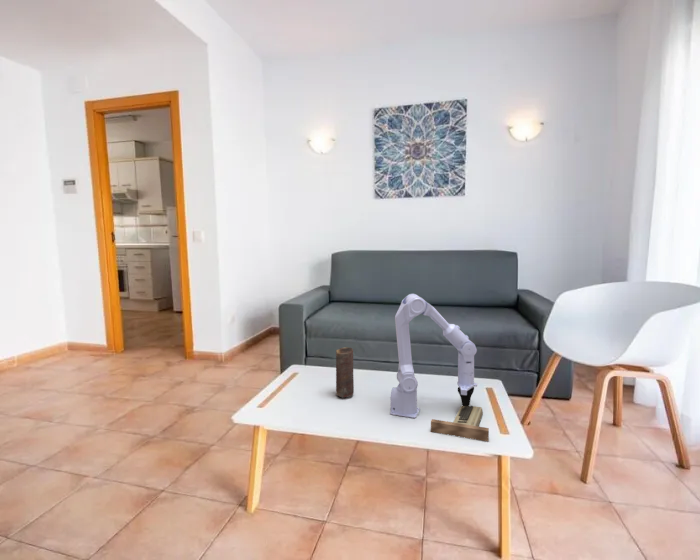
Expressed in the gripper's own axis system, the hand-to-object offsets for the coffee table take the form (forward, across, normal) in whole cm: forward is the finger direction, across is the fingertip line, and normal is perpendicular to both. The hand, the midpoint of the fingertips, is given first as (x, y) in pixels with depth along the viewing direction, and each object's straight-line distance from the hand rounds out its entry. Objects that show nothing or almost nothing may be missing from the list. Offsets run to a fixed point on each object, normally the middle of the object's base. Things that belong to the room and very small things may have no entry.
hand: (465, 406), depth 140 cm
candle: (+2, -3, +48) cm, 48 cm away
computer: (+2, -9, -2) cm, 9 cm away
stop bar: (+1, -20, 0) cm, 20 cm away
